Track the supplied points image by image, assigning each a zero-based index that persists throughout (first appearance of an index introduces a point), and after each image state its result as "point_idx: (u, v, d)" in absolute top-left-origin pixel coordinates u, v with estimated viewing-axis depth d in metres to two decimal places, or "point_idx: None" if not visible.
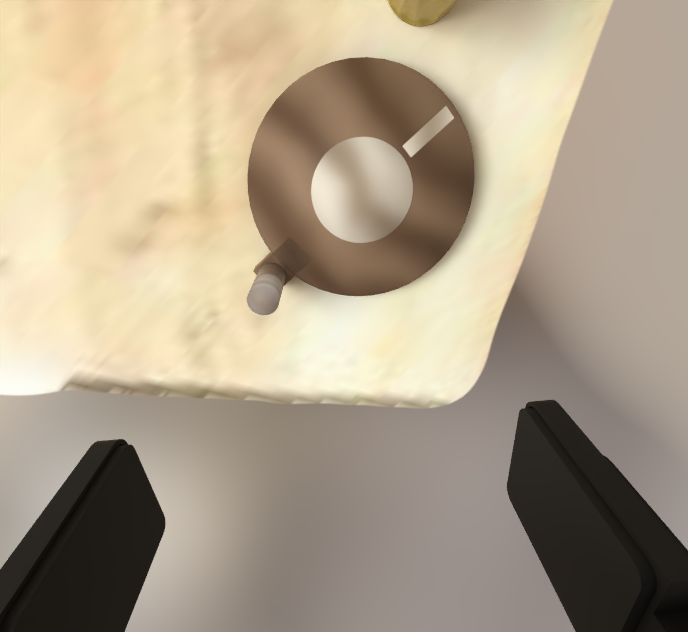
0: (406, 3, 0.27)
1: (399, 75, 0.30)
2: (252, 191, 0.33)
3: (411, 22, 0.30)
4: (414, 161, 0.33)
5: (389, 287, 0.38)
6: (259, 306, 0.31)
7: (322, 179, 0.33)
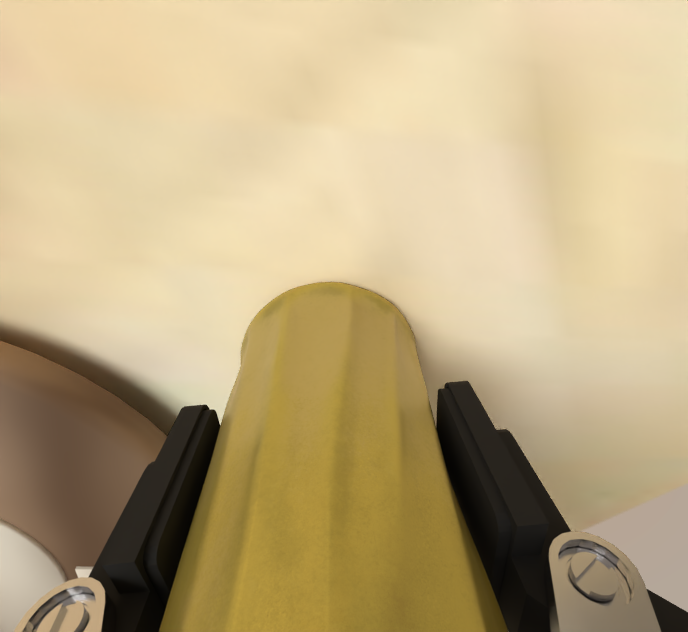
0: None
1: None
2: None
3: None
4: None
5: None
6: None
7: None
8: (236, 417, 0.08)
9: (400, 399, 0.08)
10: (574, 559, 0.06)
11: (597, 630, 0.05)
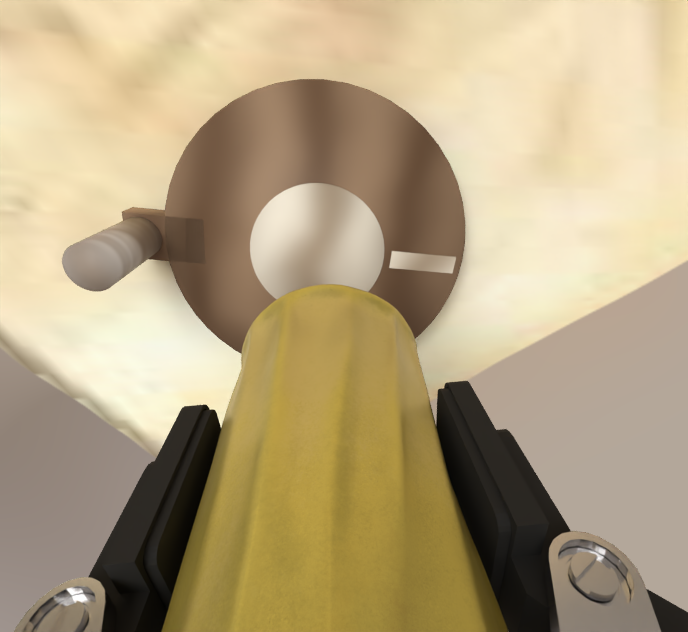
0: None
1: (447, 192, 0.24)
2: (205, 134, 0.22)
3: None
4: (388, 273, 0.26)
5: None
6: (78, 269, 0.19)
7: (292, 202, 0.24)
8: (237, 420, 0.08)
9: (401, 402, 0.08)
10: (574, 559, 0.06)
11: (597, 630, 0.05)
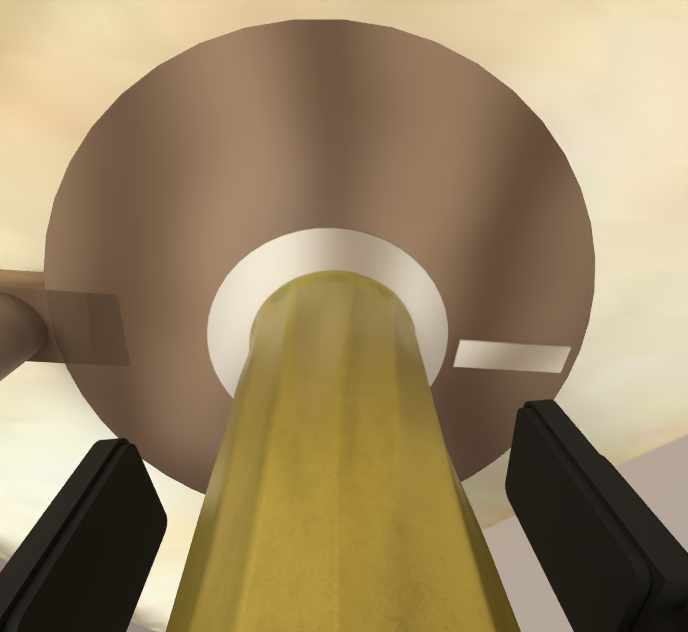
0: None
1: (570, 240, 0.13)
2: (105, 137, 0.11)
3: None
4: (451, 375, 0.15)
5: None
6: None
7: (282, 263, 0.13)
8: (249, 388, 0.09)
9: (400, 371, 0.09)
10: None
11: None
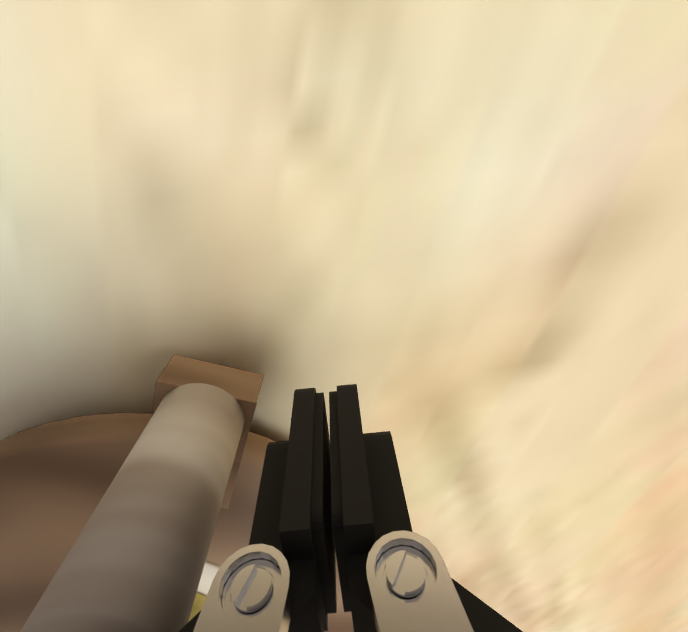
0: None
1: None
2: None
3: None
4: None
5: None
6: None
7: None
8: None
9: None
10: (388, 565, 0.06)
11: (384, 625, 0.05)
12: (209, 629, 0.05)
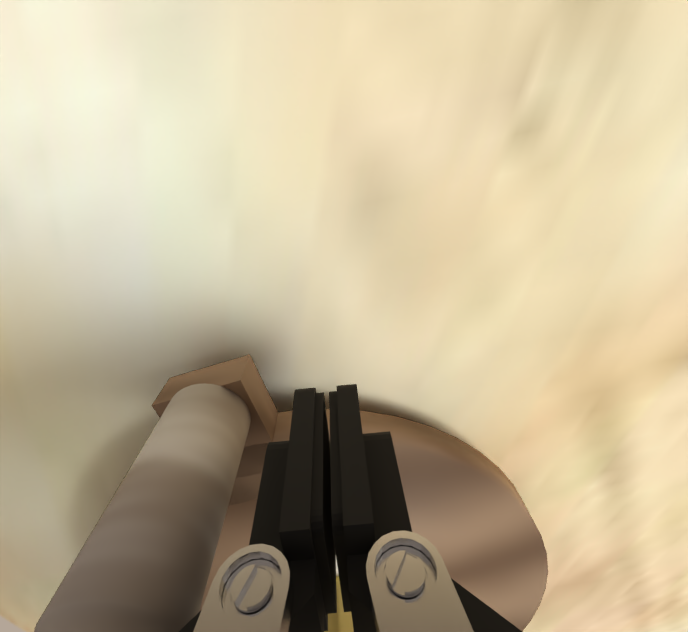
0: None
1: None
2: (434, 464, 0.13)
3: None
4: None
5: None
6: (87, 628, 0.06)
7: None
8: None
9: None
10: (388, 565, 0.06)
11: (384, 625, 0.05)
12: (209, 629, 0.05)
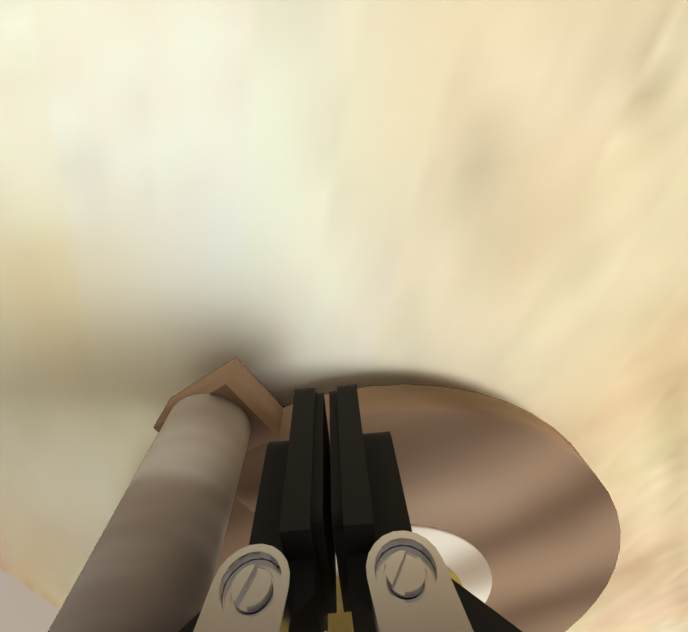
0: None
1: (550, 630, 0.19)
2: (451, 424, 0.13)
3: None
4: None
5: None
6: None
7: None
8: None
9: None
10: (388, 565, 0.06)
11: (384, 625, 0.05)
12: (209, 629, 0.05)
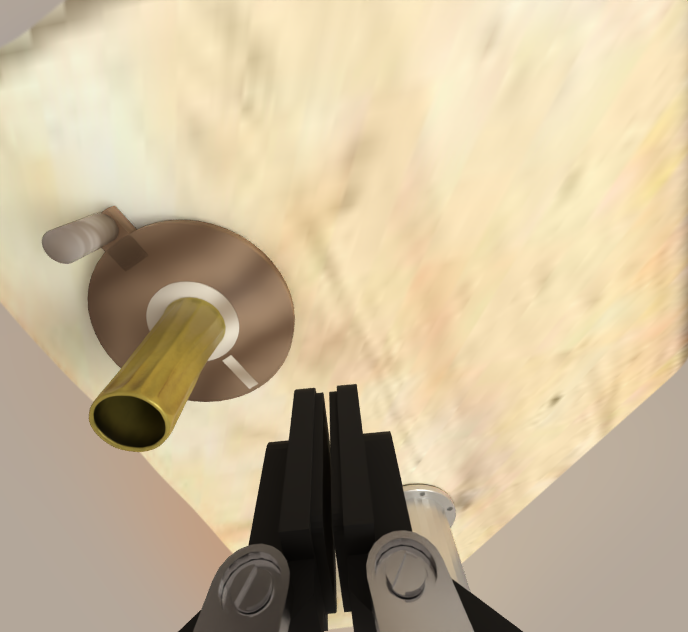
0: None
1: (279, 355, 0.40)
2: (193, 229, 0.34)
3: None
4: (219, 362, 0.40)
5: (101, 338, 0.38)
6: (53, 241, 0.28)
7: (204, 293, 0.37)
8: (173, 322, 0.32)
9: (207, 347, 0.33)
10: (388, 565, 0.06)
11: (385, 625, 0.05)
12: (209, 629, 0.05)
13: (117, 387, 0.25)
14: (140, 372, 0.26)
